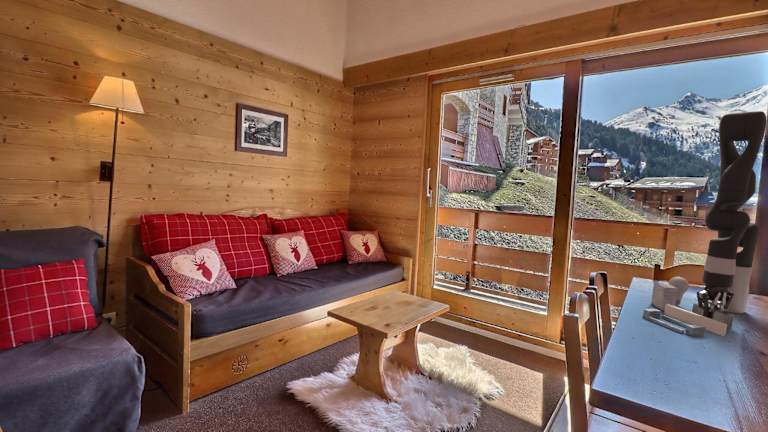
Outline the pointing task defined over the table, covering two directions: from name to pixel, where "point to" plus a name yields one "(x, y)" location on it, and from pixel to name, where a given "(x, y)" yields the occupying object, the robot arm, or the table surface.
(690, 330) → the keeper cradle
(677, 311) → the door edge
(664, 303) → the medicine box
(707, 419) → the table surface
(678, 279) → the lightbulb
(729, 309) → the robot arm
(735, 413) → the table surface
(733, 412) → the table surface
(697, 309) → the lock bar
